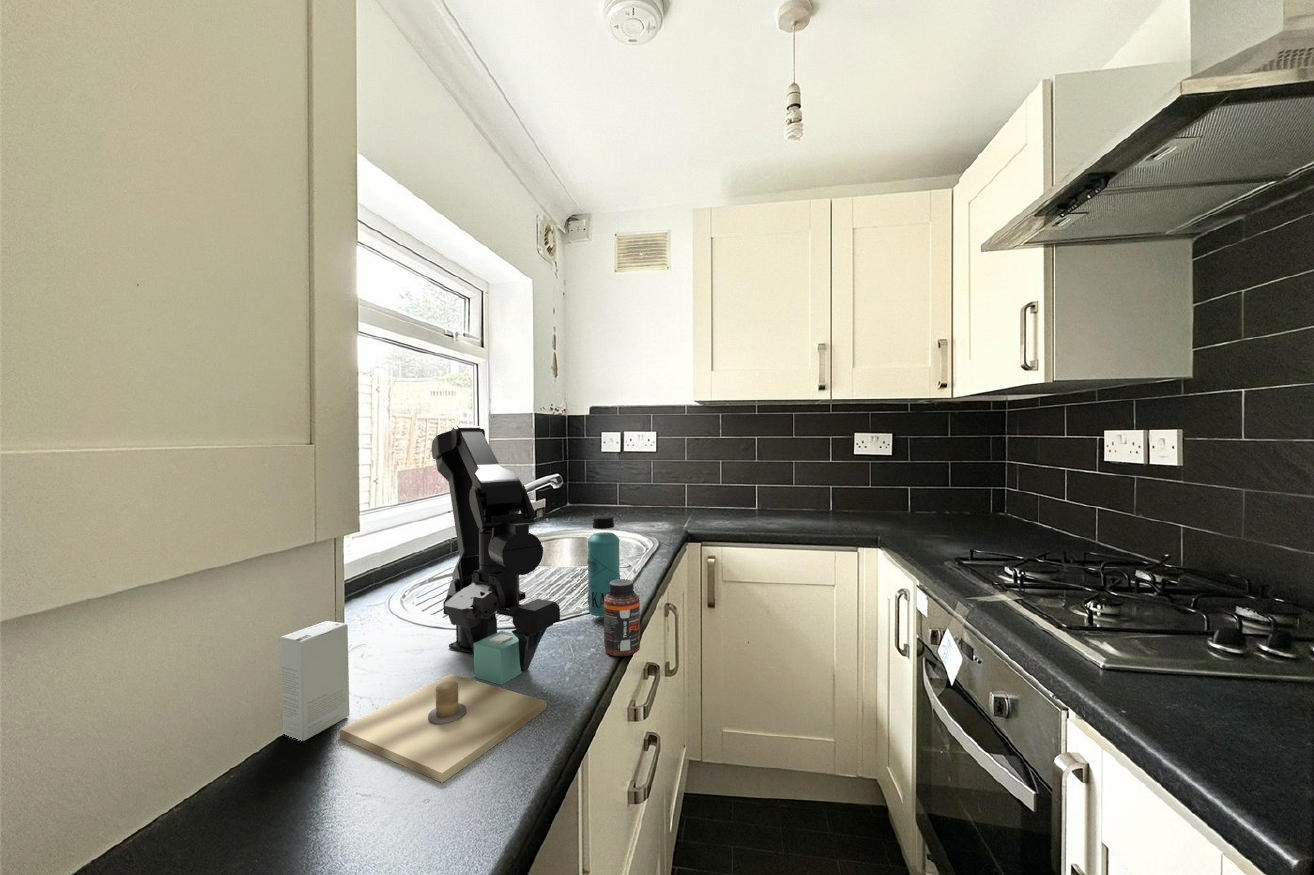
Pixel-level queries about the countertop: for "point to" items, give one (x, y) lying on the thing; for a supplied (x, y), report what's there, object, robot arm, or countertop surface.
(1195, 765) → the countertop surface
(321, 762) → the countertop surface
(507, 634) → the teal cube with pad
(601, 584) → the beverage bottle
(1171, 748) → the countertop surface
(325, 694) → the skincare box
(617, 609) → the supplement bottle
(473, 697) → the post board
